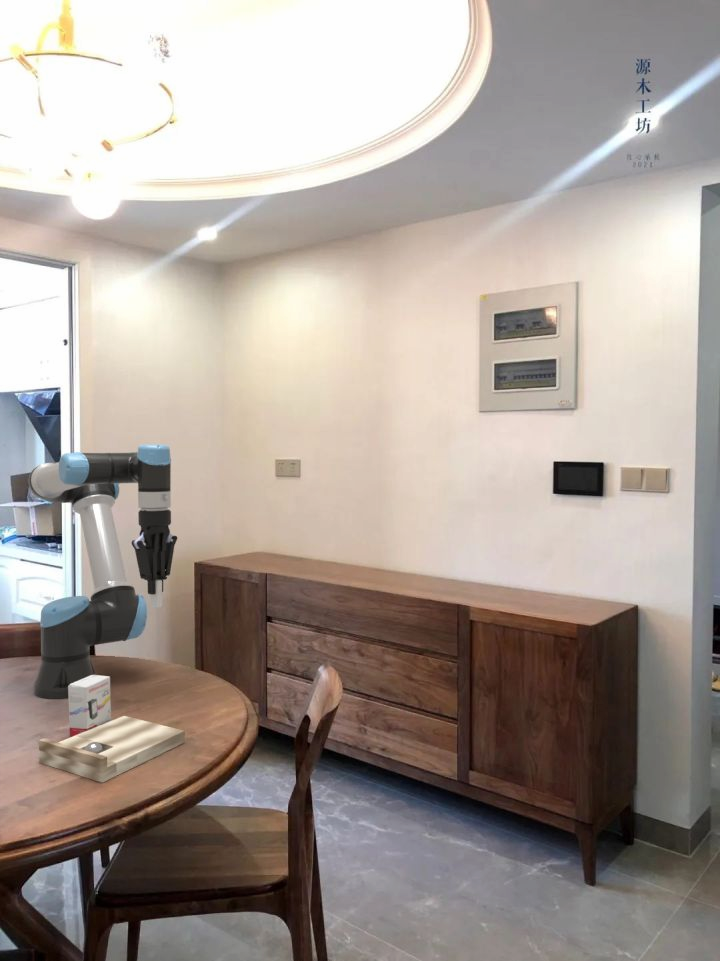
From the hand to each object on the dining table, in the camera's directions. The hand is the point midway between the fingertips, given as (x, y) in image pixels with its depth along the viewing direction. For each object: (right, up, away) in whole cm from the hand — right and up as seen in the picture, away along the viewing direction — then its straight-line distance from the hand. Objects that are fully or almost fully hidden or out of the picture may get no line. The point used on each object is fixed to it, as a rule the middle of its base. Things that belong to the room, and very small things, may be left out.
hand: (155, 606), depth 178 cm
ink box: (-10, -25, -16) cm, 31 cm away
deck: (-1, -26, -26) cm, 36 cm away
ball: (-4, -24, -30) cm, 39 cm away
